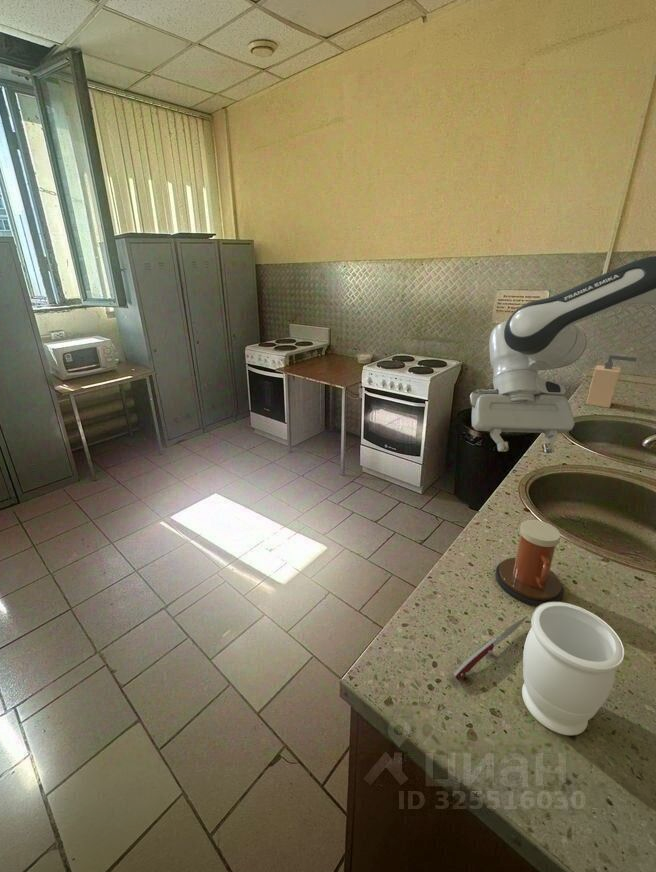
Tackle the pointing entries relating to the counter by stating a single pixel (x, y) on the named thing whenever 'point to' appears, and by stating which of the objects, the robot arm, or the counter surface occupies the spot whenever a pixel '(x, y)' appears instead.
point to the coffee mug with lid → (533, 562)
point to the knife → (484, 651)
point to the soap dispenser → (605, 382)
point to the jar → (568, 666)
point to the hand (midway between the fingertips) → (526, 451)
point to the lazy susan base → (523, 598)
